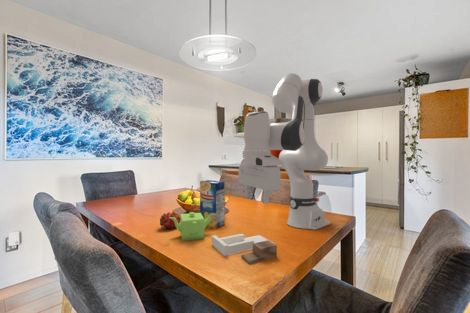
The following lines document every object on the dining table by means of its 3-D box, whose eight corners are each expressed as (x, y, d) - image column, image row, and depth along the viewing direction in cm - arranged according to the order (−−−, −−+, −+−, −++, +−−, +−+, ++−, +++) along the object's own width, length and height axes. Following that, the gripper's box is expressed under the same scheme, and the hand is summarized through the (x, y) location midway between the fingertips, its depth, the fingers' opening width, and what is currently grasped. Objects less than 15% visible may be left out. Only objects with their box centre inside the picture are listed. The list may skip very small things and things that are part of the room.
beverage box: (216, 228, 114) (216, 183, 114) (199, 224, 121) (199, 181, 120) (224, 224, 120) (224, 181, 119) (209, 220, 126) (208, 180, 126)
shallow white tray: (259, 238, 101) (259, 226, 101) (275, 247, 91) (275, 235, 91) (211, 248, 90) (211, 235, 90) (224, 260, 81) (224, 246, 81)
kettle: (195, 248, 91) (194, 219, 91) (167, 242, 97) (166, 215, 97) (215, 235, 104) (215, 210, 104) (189, 230, 111) (189, 207, 110)
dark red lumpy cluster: (157, 234, 110) (178, 231, 119) (167, 226, 106) (188, 224, 116) (153, 217, 114) (173, 215, 123) (162, 209, 110) (183, 208, 119)
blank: (267, 252, 85) (267, 240, 85) (276, 258, 80) (276, 245, 80) (241, 259, 79) (241, 246, 79) (249, 265, 75) (249, 251, 75)
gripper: (233, 158, 87) (234, 196, 87) (267, 160, 69) (267, 207, 69) (248, 158, 90) (248, 194, 90) (284, 160, 72) (284, 205, 72)
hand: (256, 200), depth 79 cm, fingers open, 8 cm apart
